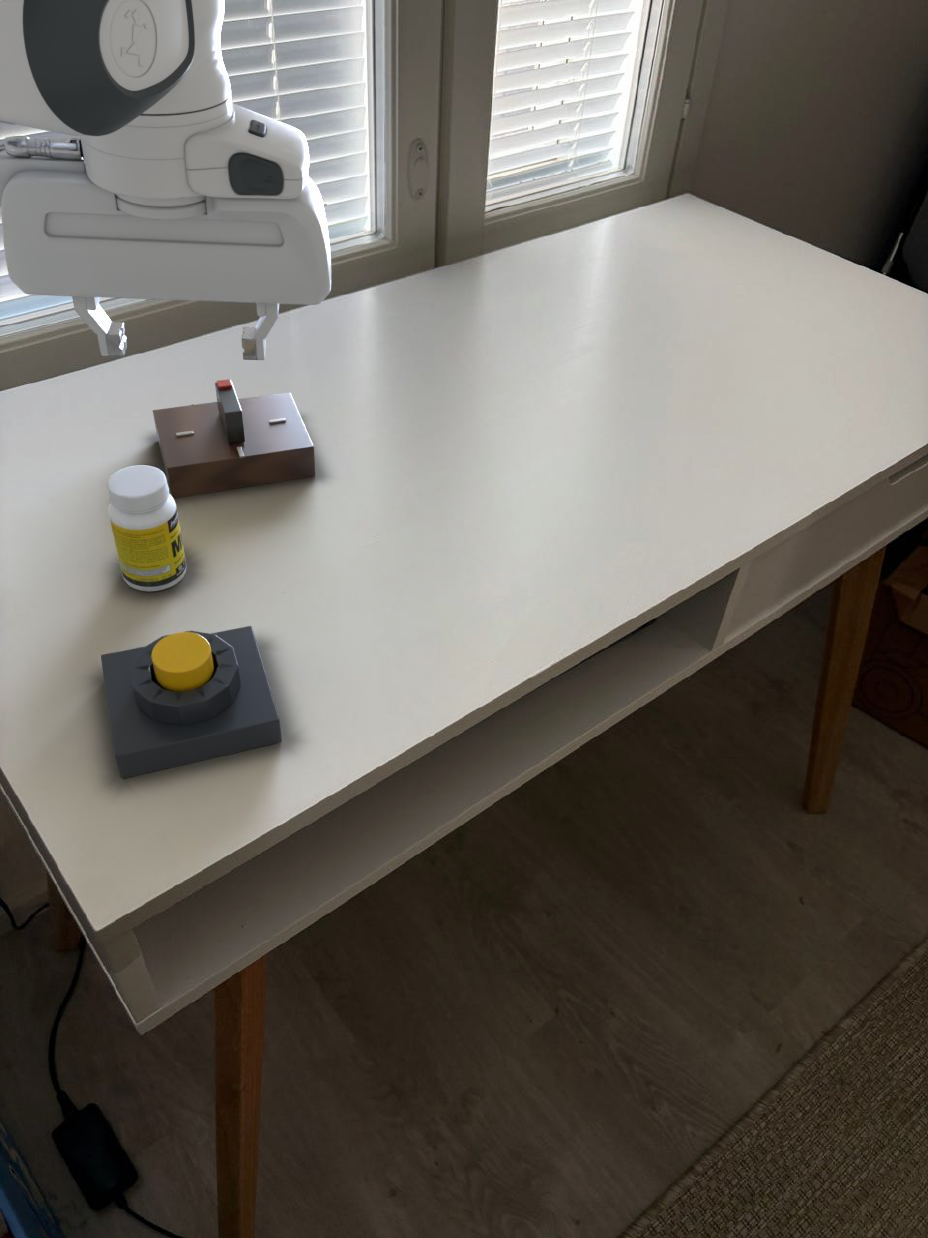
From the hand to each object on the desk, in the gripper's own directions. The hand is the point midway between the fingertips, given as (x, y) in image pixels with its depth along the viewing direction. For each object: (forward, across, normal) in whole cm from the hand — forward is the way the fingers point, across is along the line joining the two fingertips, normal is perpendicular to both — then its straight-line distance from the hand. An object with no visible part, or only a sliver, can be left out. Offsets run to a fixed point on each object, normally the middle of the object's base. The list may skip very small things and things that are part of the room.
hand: (185, 354), depth 70 cm
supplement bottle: (+16, -3, -5) cm, 17 cm away
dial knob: (+12, +1, +10) cm, 16 cm away
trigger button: (+12, +1, -19) cm, 22 cm away
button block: (+15, +1, -19) cm, 24 cm away
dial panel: (+15, +1, +10) cm, 19 cm away
